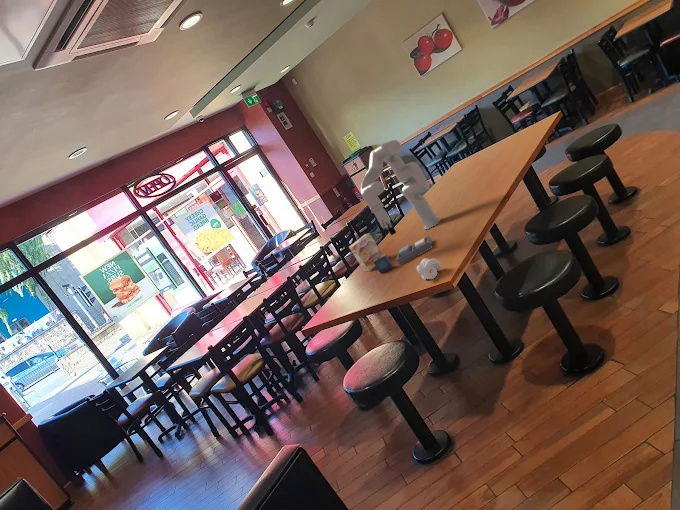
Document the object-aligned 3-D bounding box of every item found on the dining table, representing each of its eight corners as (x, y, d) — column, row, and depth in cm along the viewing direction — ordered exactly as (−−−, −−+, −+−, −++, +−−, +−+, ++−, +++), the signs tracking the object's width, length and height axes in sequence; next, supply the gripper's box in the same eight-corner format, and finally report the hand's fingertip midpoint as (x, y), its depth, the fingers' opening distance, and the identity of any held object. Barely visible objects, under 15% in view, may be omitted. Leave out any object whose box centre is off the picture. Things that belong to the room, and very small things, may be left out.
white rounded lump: (439, 279, 243) (429, 264, 241) (419, 287, 250) (409, 272, 248) (446, 267, 251) (436, 252, 250) (426, 275, 259) (416, 260, 257)
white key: (417, 247, 302) (415, 242, 302) (426, 242, 300) (424, 237, 300) (417, 250, 297) (414, 246, 296) (426, 245, 295) (423, 241, 294)
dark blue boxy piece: (394, 265, 305) (384, 251, 303) (393, 267, 303) (383, 253, 301) (381, 272, 309) (371, 258, 307) (380, 274, 306) (370, 260, 304)
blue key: (402, 253, 306) (399, 249, 305) (411, 248, 304) (408, 244, 303) (401, 257, 300) (398, 253, 300) (410, 252, 298) (407, 248, 297)
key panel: (401, 257, 310) (398, 252, 309) (432, 241, 303) (428, 235, 302) (400, 265, 299) (396, 259, 298) (431, 248, 292) (428, 242, 291)
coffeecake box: (369, 271, 326) (352, 246, 322) (364, 271, 333) (347, 247, 329) (386, 257, 331) (369, 232, 327) (380, 258, 338) (364, 233, 334)
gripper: (373, 207, 304) (389, 233, 307) (369, 214, 290) (387, 240, 293) (384, 200, 301) (400, 226, 305) (381, 207, 287) (398, 234, 291)
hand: (393, 233), depth 299 cm, fingers closed
